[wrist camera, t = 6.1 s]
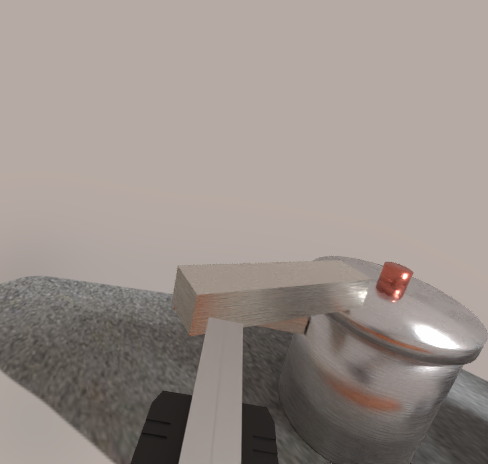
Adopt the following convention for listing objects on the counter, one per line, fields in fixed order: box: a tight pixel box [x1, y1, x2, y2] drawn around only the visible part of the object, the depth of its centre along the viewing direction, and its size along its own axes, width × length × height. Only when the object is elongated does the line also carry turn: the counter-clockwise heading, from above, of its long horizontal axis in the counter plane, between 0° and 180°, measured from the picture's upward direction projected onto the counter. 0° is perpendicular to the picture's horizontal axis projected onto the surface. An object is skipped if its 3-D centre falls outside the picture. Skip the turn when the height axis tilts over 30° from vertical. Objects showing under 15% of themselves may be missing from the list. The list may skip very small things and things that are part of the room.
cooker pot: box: [173, 307, 463, 464], centre depth 29 cm, size 26×14×12 cm, turn 90°
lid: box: [172, 256, 488, 365], centre depth 24 cm, size 28×15×4 cm, turn 120°
